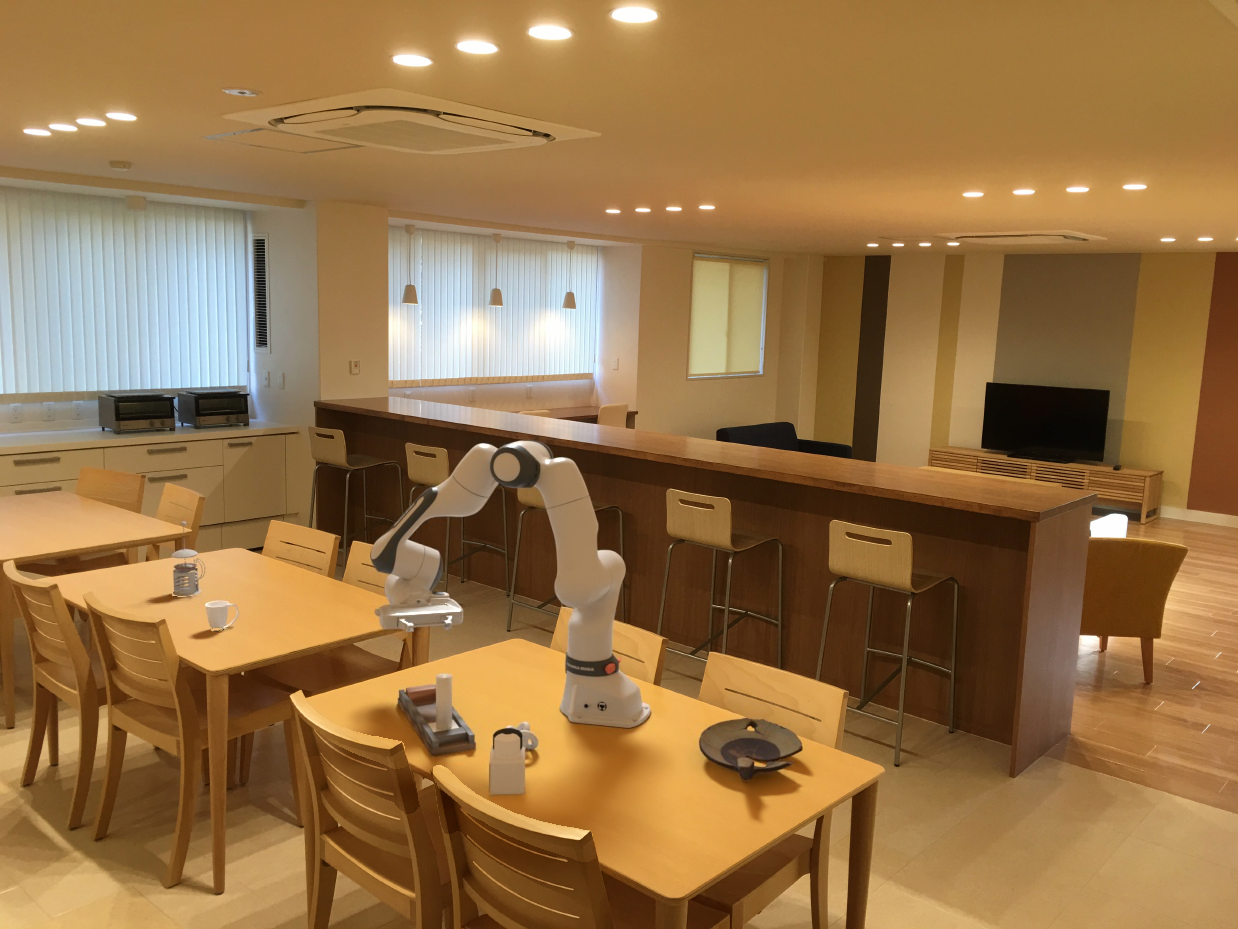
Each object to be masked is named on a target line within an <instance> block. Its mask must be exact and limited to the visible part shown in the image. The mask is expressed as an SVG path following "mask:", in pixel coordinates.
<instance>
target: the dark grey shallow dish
mask: <svg viewBox="0 0 1238 929" xmlns="http://www.w3.org/2000/svg"><path fill="white" fill-rule="evenodd" d="M749 727H751V728H752V729H754V730H749V729H748V728H749ZM698 739H699V740H698V746H699V749H700V752H701V753H702V755H703V756H704V757H705V758H706V759H707V760H709V761H710V762H712V763H714V764H715V765H717V766H719V767H721V768H723V769H726V770H728V771H732V772H734V773H737V774H738V775H739V777H740V779H741V780H742V781H746V782H747V781H751V780H752V779H753V777H754V776H756V775H761V774H769V773H770V774H771V773H773V772H778V771H781V770H784V769H786V768H788V767H790V766H792V765H793V764H795V762H794V761H788V760H787V761H781V760H785V759H787V758H789V757H792V756H795V755H797V754H799V753H801V752H802V751H803V742H802V741H801V739H800V738H799V737H798V735H797V734H796V733H795V732H794V731H792V730H791V729H788V728H786V727H785V726H782V725H779V724H778V723H774V722H771V721H768V720H765V719H763V718H762V719H759V718H758V719H757V718H756V719H755V718H749V717H742V718H736V719H728V720H724V721H720V722H717V723H714V724H711V725H709V726H708V727H706V729H704V730H702V732H701V733H700V737H699V738H698ZM754 760H755V761H758V762H762V763H766V765H764V766H757V765H755V761H754Z"/></svg>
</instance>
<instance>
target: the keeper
mask: <svg viewBox="0 0 1238 929" xmlns="http://www.w3.org/2000/svg"><path fill="white" fill-rule="evenodd" d="M435 685H436V722H435V723H429V724H428V726H429V727H430V729H431V730H432V732H436V731H442V730H448V729H454V728H459V727H458V725H457V724H456V723H455V721H454V720H452V706H453V675H452V674H451V673H450V674H449V673H438V674H437V675H436V676H435Z"/></svg>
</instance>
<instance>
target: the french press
mask: <svg viewBox="0 0 1238 929" xmlns="http://www.w3.org/2000/svg"><path fill="white" fill-rule="evenodd" d="M186 525H188V524H187V522H186V521H181V522H180V526H183V528H182V529H183V531H182V532H183V533H185V526H186ZM185 544H186V542H185V539H183V549H180V550H177V551H174V552H173V553H172V554H171V557H172V558H175V559H189V558H194V557H197V555H199V553H198V552H197V551H196V550H193V549H188V548H186V546H185ZM197 563H199V564H198V565H200V567H201V575H200V576H199V569H198V568H197V566H198V565H197ZM201 563H202V564H201ZM202 565H203V566H204V567H203V566H202ZM173 568H174V569H173V570H172V573H173V574H172V576H173V594H174V595H177V596H190V595H195V594H199V593H200V592H201V591H202V590H201V589H200V587H199V581H200V580H201V579H203V577H205V574H206V566H205V562H204V561H203V560H202V559H201V558H199V557H197V558H195V559H193V562H190V563H189V562H183V563H177V564H175V565H174V566H173ZM203 568H204V571H203Z"/></svg>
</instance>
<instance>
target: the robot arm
mask: <svg viewBox="0 0 1238 929" xmlns="http://www.w3.org/2000/svg"><path fill="white" fill-rule="evenodd" d="M499 484H500V485H501V486H504V487H506V488H513V489H532V488H533V487H535V488H536V489H537V490H538V491H539V493H540V495H541V497H542V499H543V502H544V507H545V510H546V513H547V515H548V519H549V522H550V526H551V529H552V533H553V536H554V541H555V542H554V543H555V549H556V563H557V564H556V565H557V570H556V572H557V573H556V576H555V577H556V578H555V580H554V593H555V595H556V597H557V599H558V600H559V601H560V603H561V604H563V605H564V606H565V607H568V608H571V609H572V613H571V616H570V617H569V620H568V624H567V651H566V652H565V661H564V667H565V668H564V670H565V682H564V683H565V684H564V690H563V694H562V699H561V702H560V704H559V710H560V711H561V713H562V714H563V715H565V716H566V717H567V718H568V720H569V721H570V722H571V723H578V724H587V725H598V726H605V727H606V726H607V727H616V728H625V729H626V728H627V729H630V728H634V727H637V726H638V725H641V724H642V723H644V722H645V721H646V720H647V719H648V718H649V717H650V715H651V706H650V704H648V703H646V702H643V701H642V700H643V699H642V692H641V690H640V687H639V685H638V684H637V683H635V682H634V681H633V680H631V678H630V677H628V676H627V675H626V673H623V672H622V670H620V668H619V666H620V663H621V662H622V657H621V656H620V657H618V658H617V657H616V656H615V655H614V653H613V638H614V637H613V635H614V634H613V633H614V621H615V616H616V611H617V606H618V602H619V596H620V591H621V587H622V583H623V580H624V578H625V575H626V573H627V572H626V571H627V570H626V567H627V566H626V563H625V561H624V559H623V558H622V556H621V555H619V553H617V552H616V551H613V550H610V549H600V550H598V532H599V522H598V520H597V516H596V512H595V509H594V505H593V502H592V500H591V496H590V494H589V491H588V487H587V485H586V482H585V480H584V477H583V475H582V473H581V471H580V469H579V467H578V466H577V464H576V462H575V461H574V460H573V459H571V458H568V457H563V456H561V457H555V458H554V453H553V451H552V450H551V448H550V447H549V446H548V445H547V444H545V443H544V442H542V441H538V440H535V439H534V440H533V439H531V440H518V441H514V442H510V443H507V444H503V445H502V446H500V447H499V448H497V447H496V446H494V445H493V444H491V443H490V444H489V443H483V442H482V443H478V444H476V445H474V446H473V447H472V448H471V449H470V450H469V451H468V452H467V453H466V454H465V455H464V456H463V457H462V459H461V460H460V461H459V463H458V464H457V465H456V466H455V468H454V470H453V472H452V473H451V475H450V476H449V477H448V478H447V479H446V480H444V481H443V482H441V483H440V484H439V485H437V486H432V487H428V488H427V489H425V490H424V491H423V492H422V493H421V494H420V495H419V496H418V497H417V498H416V499H415V500H414V501H413V502H412V503H411V504H410V506H409V507H408V508H407V509H406V510H405V511H404V512H403V513H402V514H401V515H400V517H399V518H398V519H397V520H396V521H395V522H394V523H393V524H392V525H391V527H390V528H389V529H388V530H386V531H385V532H384V533H382V535H381V536H379V537H378V538H377V539H376V540H375V542H374V544H373V546H372V547H371V550H370V554H369V556H370V557H369V558H370V561H371V564H372V565H373V567H374V569H375V570H376V571H377V573H378V572H379V573H383V574H387V575H388V576H387V577H386V579H385V582H384V593H385V597H386V599H387V602H388V603H389V604H383V605H381V606H380V607H379V608H375V609H374V614H375V616H377V617H379V618H378V619H379V626H380V627H381V628H382V629H385V630H395V629H397V630H398V629H400V630H403V631H405V632H406V633H414V631H415V630H414V628H425V627H438V626H443V628H444V630H445V631H446V630H447V631H449V630H452V628H453V625H461V624H462V623H463V620H464V609H463V608H462V606H461V605H460V604H459V603H458V601H456V600H454V599H452V598H450V594H449V593H448V592H443V591H434V590H433V589H434V588H436V586H437V585H438V583H439V581H440V580H441V578H442V575H443V572H444V564H443V557H442V555H441V553H440V551H439V550H438V549H435V548H432V547H430V546H426V545H424V544H420V543H418V542H416V541H412V540H410V537H411V536H412V535H413V534H414V532H415V531H417V529H418V528H419V527H420V526H421V525H422V524H423V523H424V522H425V521H427V520H429V519H431V518H435V517H436V518H439V517H455V518H463V517H469V516H473V515H475V514H477V513H478V512H479V511H481V509H483V507H484V506H486V505H485V504H486V503H487V502H488V500H489V499H490V497H491V495H492V494H493V493H494V491H495V489H496V488H497V487H498V485H499Z"/></svg>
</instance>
